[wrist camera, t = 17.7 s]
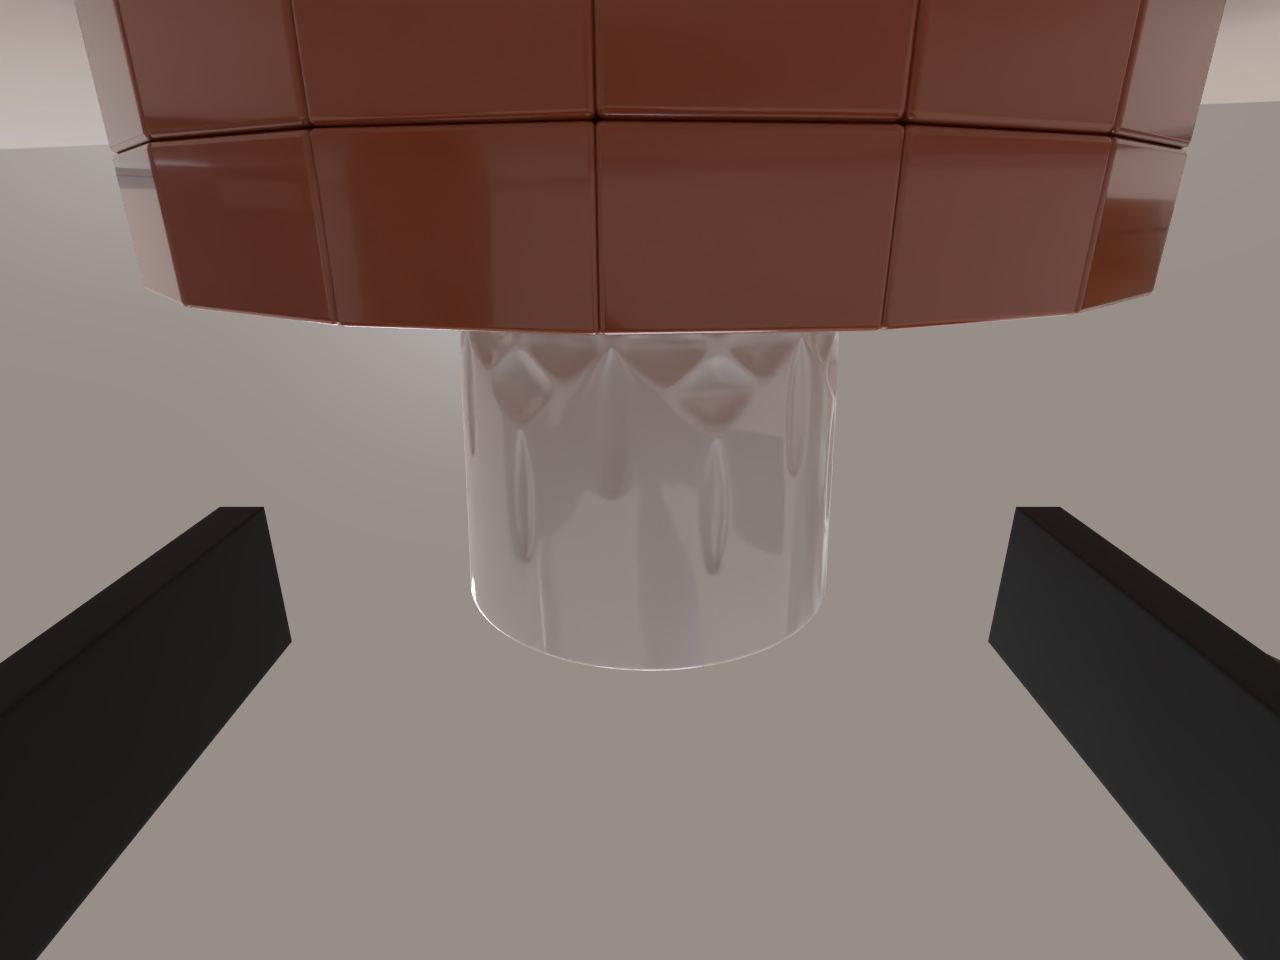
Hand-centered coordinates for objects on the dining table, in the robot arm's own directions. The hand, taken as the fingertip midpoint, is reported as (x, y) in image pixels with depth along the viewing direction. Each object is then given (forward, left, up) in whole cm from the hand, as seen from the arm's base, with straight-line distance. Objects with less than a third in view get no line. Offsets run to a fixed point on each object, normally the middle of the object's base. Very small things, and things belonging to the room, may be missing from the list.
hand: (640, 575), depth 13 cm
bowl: (-2, -3, -9) cm, 10 cm away
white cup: (-1, -3, -9) cm, 9 cm away
